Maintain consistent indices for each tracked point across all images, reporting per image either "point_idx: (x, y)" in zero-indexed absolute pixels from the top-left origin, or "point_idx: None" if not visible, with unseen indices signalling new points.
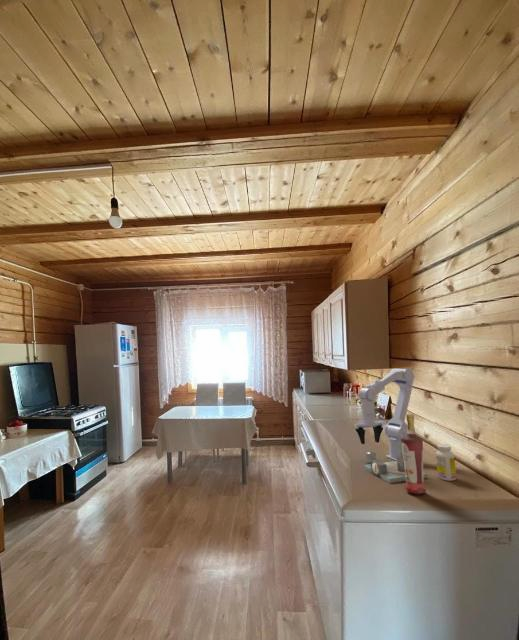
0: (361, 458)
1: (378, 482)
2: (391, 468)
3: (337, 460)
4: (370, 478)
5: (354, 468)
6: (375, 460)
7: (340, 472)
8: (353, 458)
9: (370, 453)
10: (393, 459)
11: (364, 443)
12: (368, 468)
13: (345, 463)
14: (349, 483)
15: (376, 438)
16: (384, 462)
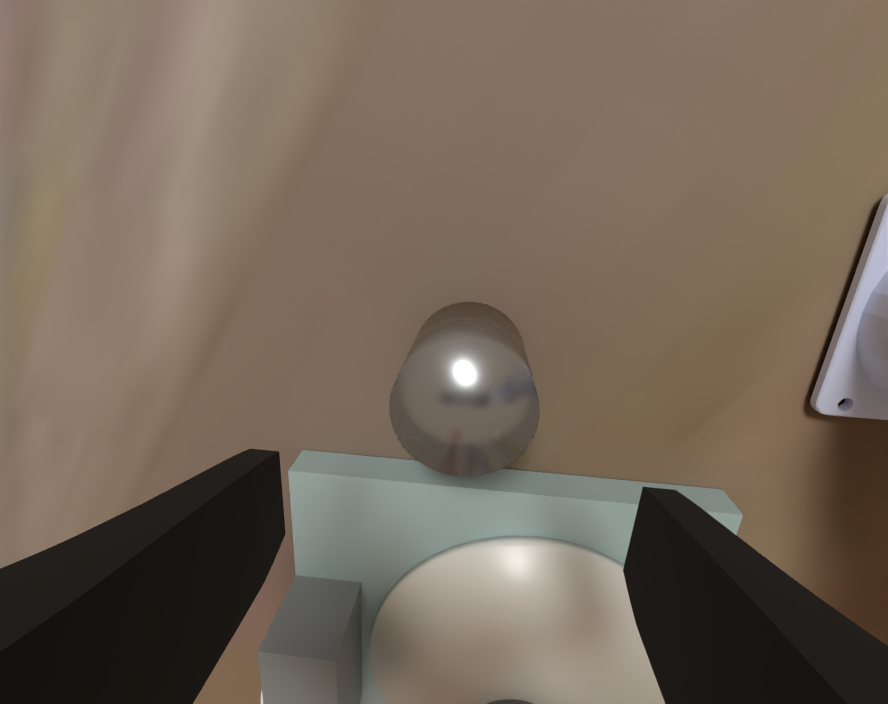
0: (493, 118)
1: (255, 688)
2: (453, 671)
3: (133, 65)
4: None
5: (218, 405)
6: (307, 674)
7: (50, 439)
8: (386, 69)
9: (437, 441)
10: (824, 360)
11: (273, 550)
12: (297, 534)
13: (190, 226)
14: None
15: (671, 615)
16: (552, 496)
